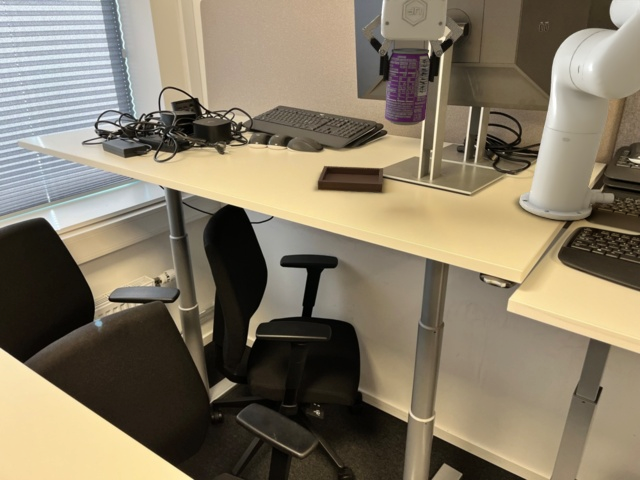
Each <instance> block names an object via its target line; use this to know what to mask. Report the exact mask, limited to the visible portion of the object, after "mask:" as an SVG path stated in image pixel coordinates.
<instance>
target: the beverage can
mask: <svg viewBox="0 0 640 480" xmlns="http://www.w3.org/2000/svg"><path fill="white" fill-rule="evenodd" d="M429 53H430V49H428V48H417V47H399V48H392V49H391V55H390V56H389V62H388V77H387V81H386V88H385V89H386V92H385V106H384V107H385V109H384V119H385V120H386V121H388V122H390V123H391V124H393V125H396V126H415V125H418V124H420V123H422V122H423V121H425V120H426V115H427V107H428V98H429V97H428V96H429V85H430V81H429V76H430V66H431V61H430V55H429Z"/></svg>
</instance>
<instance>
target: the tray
mask: <svg viewBox="0 0 640 480" xmlns="http://www.w3.org/2000/svg"><path fill="white" fill-rule="evenodd" d="M383 178H384V168H383V167H364V166H363V167H361V166H337V165H336V166H334V165H333V166H332V165H324V166H323V167H322V170H321V172H320V175H319V177H318V180H317V190H320V191H340V192H341V191H345V192H365V193H383V181H384V179H383Z"/></svg>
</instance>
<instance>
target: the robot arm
mask: <svg viewBox="0 0 640 480" xmlns="http://www.w3.org/2000/svg"><path fill="white" fill-rule="evenodd" d="M447 10H448V0H382V5H381V12H380V14H379V15H377V16H376V17H375V18H374V19H373V20H372V21H370V22H369V23H368V24H367V25H365V26H364V27H362V30H361V32H362V35H363V36H364V37H365V38H366V40H367V41H368V43H369V44H370V46H371V47H372V48H373V49H374V51H375V52H376V53H378V55H379V70H378V76H382V82H387V77H388V62H389V59H390V56H389V53H388V51H389V49H390V48H391V45H392V44H393V42H394V41H425V42H426V41H428V42H429V44H430V47H431V50H432V51H431V55H429V58H430V61H431V66H430V76H429V83H434V81H435V77H439V71H440V62H441V57H442V56H443V54H445V53H446V52H447V51H448V50H449V49H450V48H451V47H452V46H453V45H454V43H455V42H457V40H458V39H459V38H460V37H461V36H462V35H463V32H464V30H463V28H461V26H459V24H458V23H457V22H456V21H454V19H452V17H451V16H450V15H448V12H447ZM609 16H610V20H611V22H612V23H613V24H614V26H616V27H617V28H618V29H617V30H616V29H610V28H609V29H607V28H601V27H600V28H599V27H591V28H585V29H581V30H578V31H576V32H574V33H572V34H570V35H569V36H568V37H567V38H566V39H564V40H563V42H561V44H560V46H559V47H558V48H557V50H556V52H555V55H554V57H553V60H552V66H551V80H550V95H549V102H548V107H547V112H546V118H545V122H544V127H543V131H542V136H541V141H540V143H539V144H540V145H539V149H538V153H537V159H536V163H535V168H534V173H533V177H532V182H531V185H530V191H526V192H524V193H523V194H521V195H520V197H519V205H520V207H521V208H523V210H525V211H527V212H528V213H530V214H533V215H536V216H538V217H542V218H546V219H550V220H556V221H557V220H558V221H578V220H583V219H585V218H588V217H589V216H590V215H591V214H592V210H593V207H592V205H595V204H596V203H599V204H610V205H611V204H613V203H614V201H615V194H614V193H610V192H602V190H601V189H595V188H594V189H591V188H590V182H591V178H592V175H593V171H594V168H595V164H596V161H597V156H598V152H599V150H600V146H601V142H602V139H603V135H604V131H605V129H606V125H607V121H608V115H609V111H610V110H609V109H610V100H621V99H624V98H626V97H630V96H632V95H634V94H635V93H637V92H638V91H640V0H612V1H611V3H610V6H609ZM379 26H380V35H381V36H382V37H383V38H384V39H383V41H382V43H381V41H380V40H378V38H377V37H376V36H375V34H374V33H373V32H374V30H375V29H377V28H378V27H379ZM446 27H447V29H449V31H450V34H449V35H448V37H447V38H445V39H444V40H443V41H442V42H441V43H440V39H442V38H443V37H444V35H445V33H446V32H445V31H446Z"/></svg>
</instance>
